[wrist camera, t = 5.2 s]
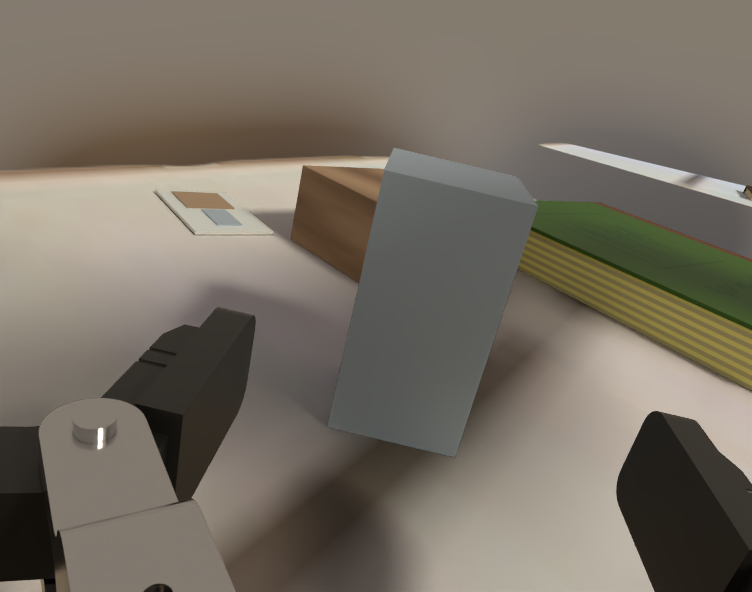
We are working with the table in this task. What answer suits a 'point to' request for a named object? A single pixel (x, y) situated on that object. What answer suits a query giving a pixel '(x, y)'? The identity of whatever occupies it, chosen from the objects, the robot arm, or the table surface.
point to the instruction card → (212, 213)
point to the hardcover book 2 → (748, 192)
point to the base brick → (337, 214)
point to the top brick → (429, 300)
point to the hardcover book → (648, 280)
